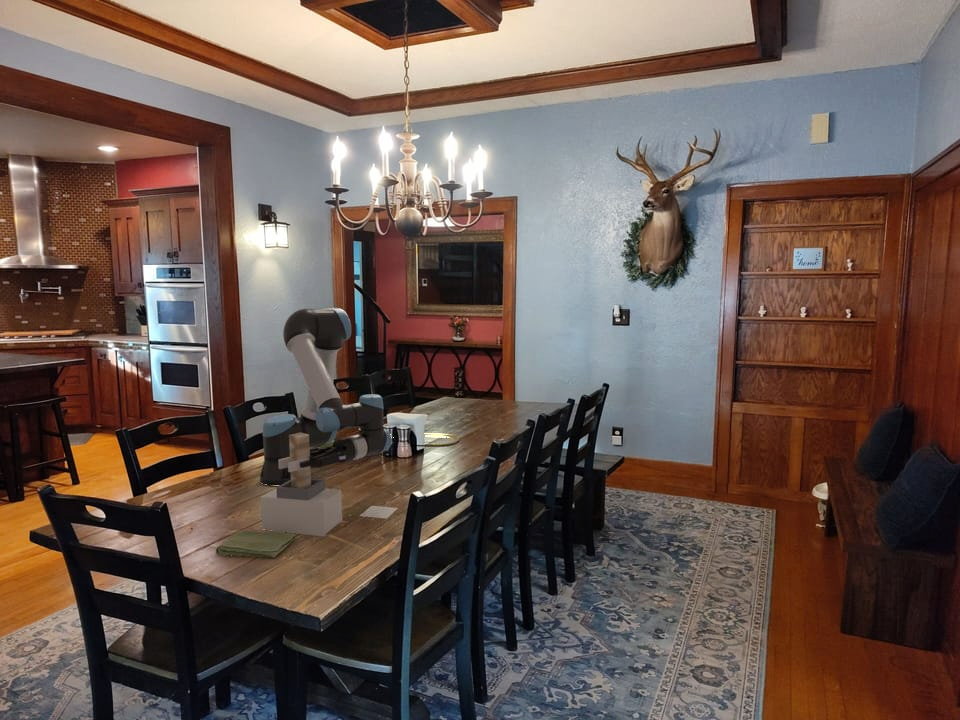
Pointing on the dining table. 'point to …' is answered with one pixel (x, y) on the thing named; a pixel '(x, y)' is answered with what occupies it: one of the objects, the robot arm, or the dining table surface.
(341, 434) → the dining table surface
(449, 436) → the serving platter
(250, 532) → the washcloth
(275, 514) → the switch box
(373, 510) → the white paper sheet
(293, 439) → the beige tall cylinder
